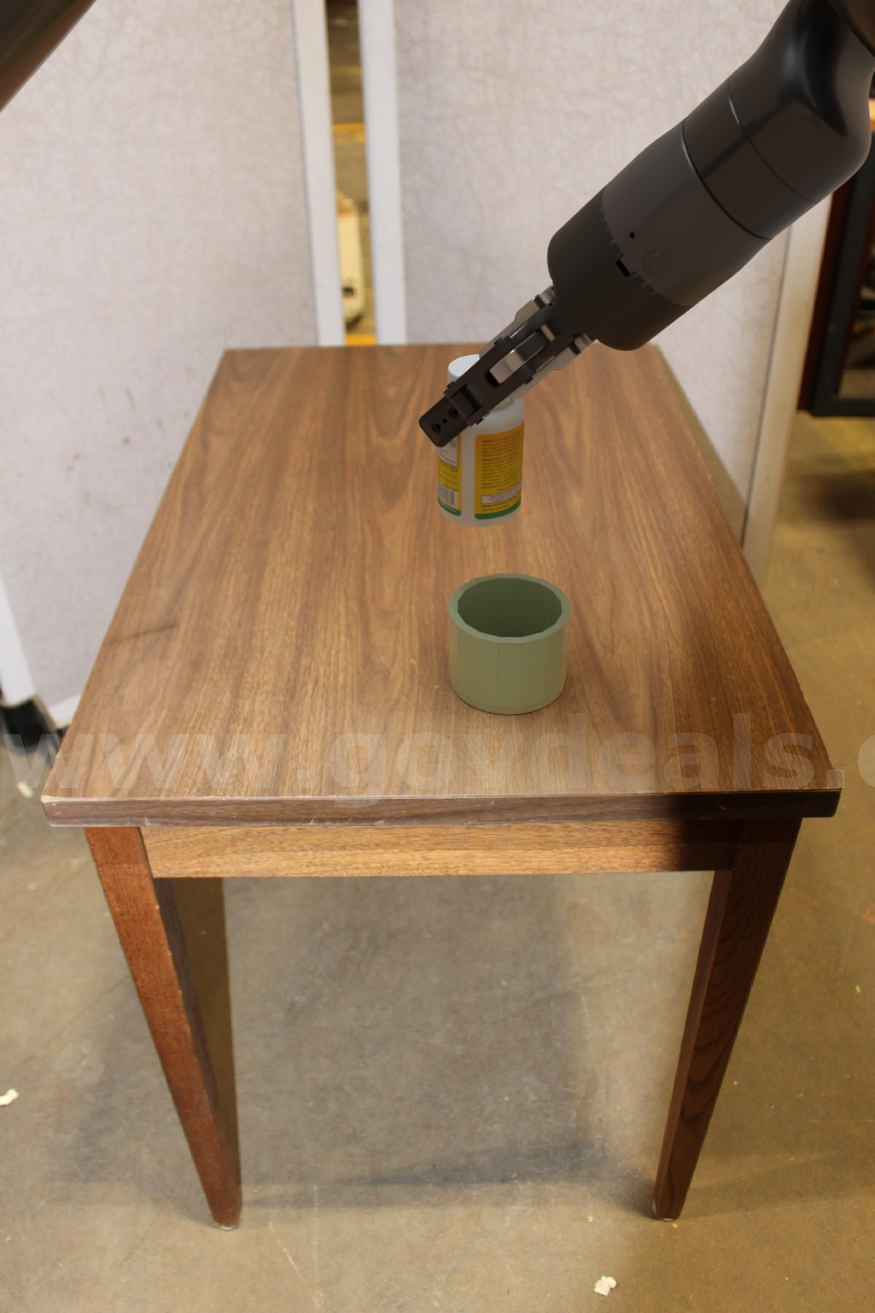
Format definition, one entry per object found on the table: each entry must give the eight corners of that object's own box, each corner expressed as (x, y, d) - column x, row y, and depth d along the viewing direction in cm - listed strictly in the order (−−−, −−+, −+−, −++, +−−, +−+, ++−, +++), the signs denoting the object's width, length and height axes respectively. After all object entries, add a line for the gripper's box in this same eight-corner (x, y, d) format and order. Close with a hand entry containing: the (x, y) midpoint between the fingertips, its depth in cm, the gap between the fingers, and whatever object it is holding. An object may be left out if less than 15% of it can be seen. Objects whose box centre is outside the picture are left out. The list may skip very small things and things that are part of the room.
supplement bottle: (426, 523, 67) (422, 378, 62) (453, 484, 72) (451, 345, 66) (508, 535, 66) (512, 388, 60) (530, 495, 70) (536, 354, 64)
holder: (476, 727, 70) (477, 654, 66) (432, 658, 76) (431, 587, 72) (585, 697, 72) (592, 625, 68) (534, 632, 78) (538, 563, 74)
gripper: (662, 146, 58) (468, 328, 70) (557, 212, 48) (351, 410, 60) (743, 258, 59) (539, 418, 71) (656, 345, 49) (435, 514, 61)
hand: (454, 414), depth 66 cm, fingers closed on supplement bottle, 5 cm apart
